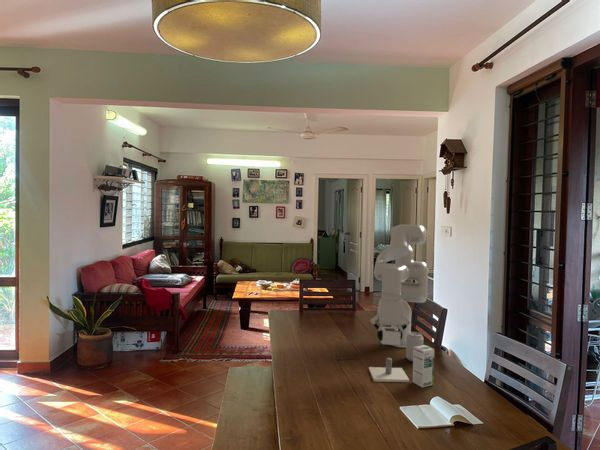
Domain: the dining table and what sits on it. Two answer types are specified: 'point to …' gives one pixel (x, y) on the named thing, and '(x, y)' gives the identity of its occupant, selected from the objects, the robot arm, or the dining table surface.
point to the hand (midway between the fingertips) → (389, 339)
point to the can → (413, 343)
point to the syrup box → (423, 366)
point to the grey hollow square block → (390, 336)
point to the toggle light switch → (388, 373)
